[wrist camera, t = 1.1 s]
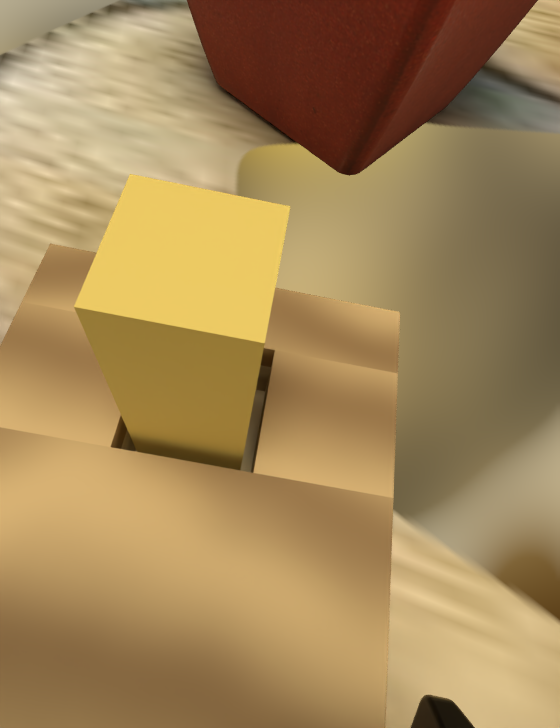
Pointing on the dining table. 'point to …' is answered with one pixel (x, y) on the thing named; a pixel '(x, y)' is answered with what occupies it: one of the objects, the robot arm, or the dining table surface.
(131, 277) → the yellow block
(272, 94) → the plant pot
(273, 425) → the tan flat piece
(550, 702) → the dining table surface
